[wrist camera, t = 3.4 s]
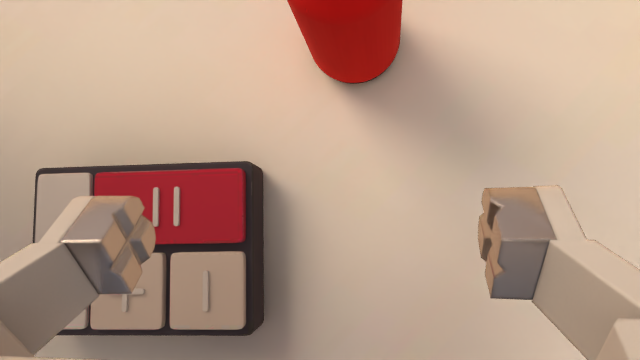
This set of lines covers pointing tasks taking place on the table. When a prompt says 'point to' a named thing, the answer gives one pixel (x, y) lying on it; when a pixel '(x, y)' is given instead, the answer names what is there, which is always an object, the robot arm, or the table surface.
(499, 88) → the table surface
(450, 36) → the table surface
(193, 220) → the calculator
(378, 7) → the beverage can
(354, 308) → the table surface
